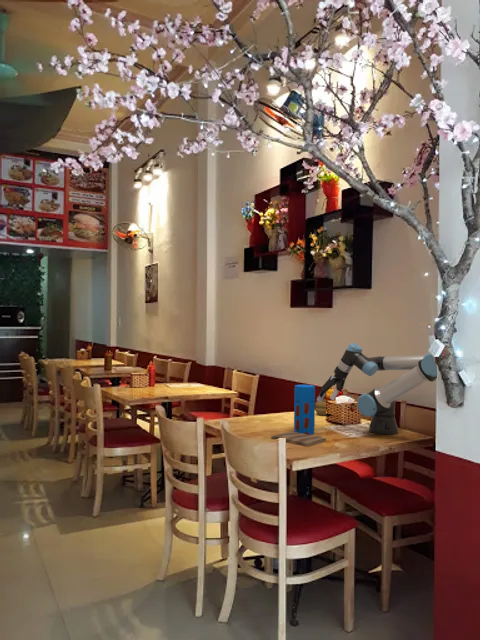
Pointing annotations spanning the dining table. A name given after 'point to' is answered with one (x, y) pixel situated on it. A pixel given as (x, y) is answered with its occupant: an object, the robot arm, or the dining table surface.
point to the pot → (321, 407)
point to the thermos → (304, 409)
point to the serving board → (299, 438)
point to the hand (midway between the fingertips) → (325, 400)
